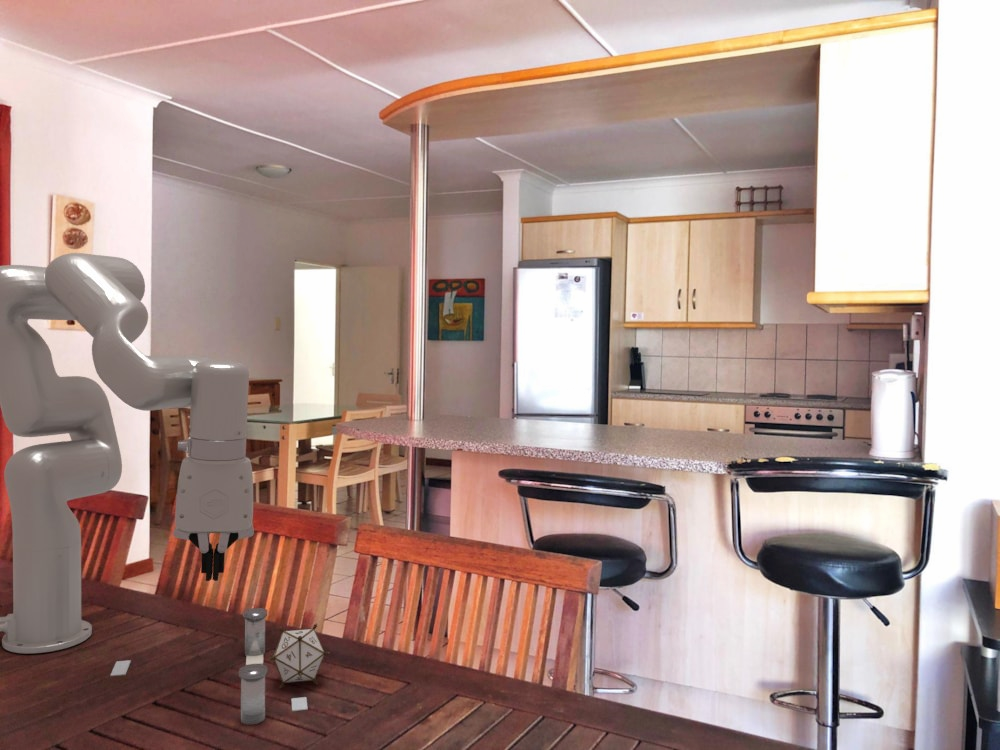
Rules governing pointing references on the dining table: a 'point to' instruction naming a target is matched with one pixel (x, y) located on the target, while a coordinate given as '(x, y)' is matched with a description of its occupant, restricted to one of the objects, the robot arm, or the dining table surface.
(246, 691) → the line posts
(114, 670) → the distance lines
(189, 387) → the robot arm
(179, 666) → the dining table surface
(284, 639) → the game die
